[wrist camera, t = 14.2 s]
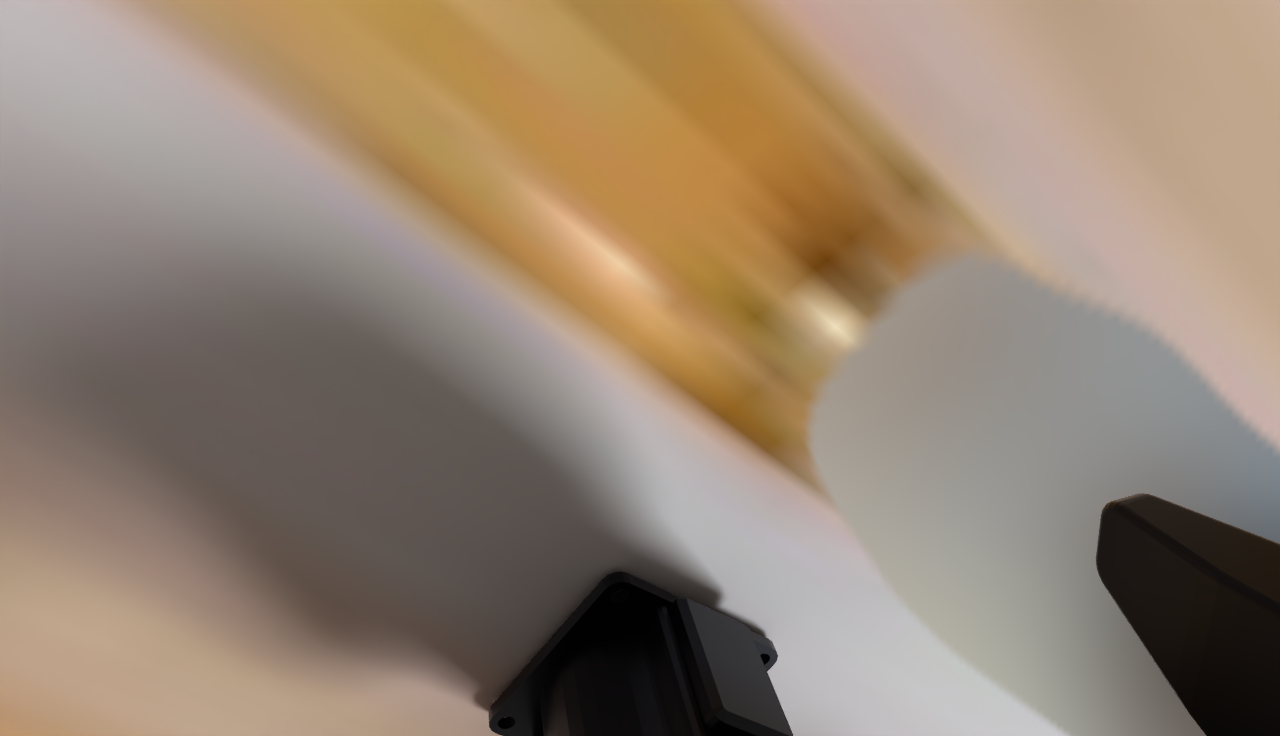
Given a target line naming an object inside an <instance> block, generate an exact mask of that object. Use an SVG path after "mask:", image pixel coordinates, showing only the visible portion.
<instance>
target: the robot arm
mask: <svg viewBox="0 0 1280 736" xmlns="http://www.w3.org/2000/svg"><path fill="white" fill-rule="evenodd" d="M1096 565H1097V570H1098V573H1099V576H1100V578H1101V580H1102V582H1103V584H1104V586H1105V587H1106V589H1107V590H1108V592H1109V593H1110V595H1111V596H1112V598H1113V599H1114V601H1115V602H1116V604H1117V605H1118V607H1119V608H1120V610H1121V612H1122V613H1123V614H1124V616H1125V618H1126V619H1127V621H1128V622H1129V624H1130V625H1131V627H1132V628H1133V630H1134V631H1135V633H1136V634H1137V636H1138V637H1139V639H1140V640H1141V642H1142V643H1143V645H1144V647H1145V648H1146V650H1147V651H1148V652H1149V654H1150V656H1151V657H1152V659H1153V660H1154V662H1155V663H1156V665H1157V666H1158V668H1159V669H1160V671H1161V672H1162V674H1163V675H1164V677H1165V678H1166V680H1167V682H1168V683H1169V685H1170V686H1171V688H1172V689H1173V691H1174V692H1175V694H1176V695H1177V696H1178V698H1179V699H1180V701H1181V702H1182V704H1183V705H1184V706H1185V708H1186V709H1187V711H1188V712H1189V714H1190V715H1191V716H1192V717H1193V719H1194V720H1195V721H1196V723H1197V724H1198V725H1199V726H1200V728H1201V729H1202V730H1203V732H1204V733H1205V734H1206V735H1207V736H1280V544H1279V543H1276V542H1273V541H1271V540H1268V539H1266V538H1263V537H1261V536H1258V535H1255V534H1253V533H1250V532H1248V531H1245V530H1242V529H1240V528H1237V527H1234V526H1232V525H1229V524H1227V523H1224V522H1221V521H1219V520H1216V519H1214V518H1211V517H1208V516H1206V515H1203V514H1200V513H1198V512H1195V511H1193V510H1190V509H1187V508H1185V507H1182V506H1179V505H1177V504H1174V503H1172V502H1169V501H1166V500H1164V499H1161V498H1159V497H1156V496H1153V495H1149V494H1135V495H1132V496H1128V497H1125V498H1122V499H1118V500H1115V501H1111V502H1109V503H1107V504H1106V506H1105V507H1104V508H1103V510H1102V513H1101V520H1100V529H1099V536H1098V545H1097V553H1096ZM617 589H624V590H622V591H621V592H617V593H614V591H615V590H617ZM760 654H761V655H760ZM777 657H778V655H777V652H776V650H775V647H774V645H773V643H772V641H770V640H769V639H768V638H765V637H763V636H761V635H759V634H757V633H755V632H753V631H750V630H749V628H748V627H747V626H746V625H745V624H743V623H740V622H738V621H736V620H734V619H732V618H730V617H728V616H725V615H723V614H721V613H719V612H717V611H715V610H713V609H711V608H708V607H706V606H704V605H702V604H700V603H698V602H696V601H693V600H691V599H689V598H683V597H677V596H675V595H673V594H671V593H669V592H667V591H665V590H662V589H660V588H658V587H656V586H654V585H652V584H649V583H647V582H645V581H643V580H641V579H639V578H637V577H634V576H632V575H630V574H628V573H624V572H615V573H612V574H610V575H608V576H606V577H605V578H604V579H603V580H602V581H601V582H600V583H599V584H598V585H597V587H596V588H595V589H594V590H593V591H592V592H591V593H590V595H589V596H588V597H587V598H586V599H585V600H584V601H583V603H582V604H581V605H580V606H579V607H578V608H577V609H576V611H575V612H574V613H573V614H572V615H571V616H570V617H569V619H568V620H567V621H566V622H565V623H564V624H563V625H562V627H561V628H560V629H559V630H558V631H557V632H556V633H555V635H554V636H553V637H552V638H551V639H550V640H549V641H548V643H547V644H546V645H545V646H544V647H543V648H542V649H541V651H540V652H539V653H538V654H537V655H536V656H535V657H534V659H533V660H532V661H531V662H530V663H529V664H528V665H527V666H526V668H525V669H524V670H523V671H522V672H521V673H520V674H519V676H518V677H517V678H516V679H515V680H514V681H513V682H512V684H511V685H510V686H509V687H508V688H507V689H506V690H505V692H504V693H503V694H502V695H501V696H500V697H499V698H498V700H497V701H496V702H495V703H494V704H493V705H492V706H491V708H490V710H489V727H490V729H491V730H492V731H493V732H495V733H497V734H499V735H502V736H793V734H792V731H791V729H790V726H789V724H788V721H787V719H786V717H785V714H784V712H783V709H782V707H781V705H780V702H779V700H778V697H777V695H776V693H775V690H774V688H773V685H772V683H771V681H770V678H769V676H768V673H767V671H768V670H769V669H770V668H771V667H772V666H773V665H774V664H775V662H776V661H777ZM504 717H506V718H504Z"/></svg>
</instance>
